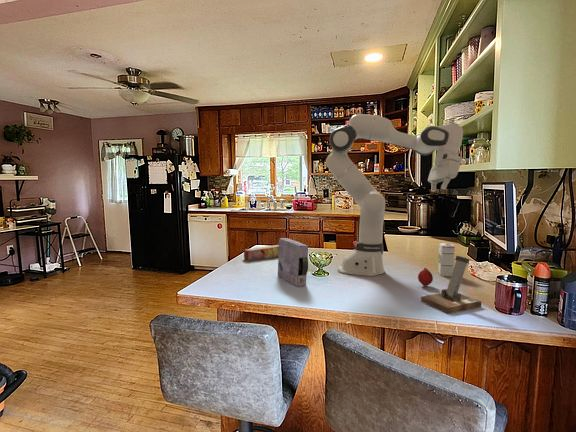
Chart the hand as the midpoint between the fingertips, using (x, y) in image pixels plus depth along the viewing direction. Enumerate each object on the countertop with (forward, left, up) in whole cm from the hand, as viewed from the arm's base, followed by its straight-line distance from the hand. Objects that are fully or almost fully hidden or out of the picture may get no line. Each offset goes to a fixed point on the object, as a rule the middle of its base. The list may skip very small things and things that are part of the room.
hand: (438, 190), depth 149 cm
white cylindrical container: (+7, +7, -40) cm, 41 cm away
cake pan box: (-63, -15, -40) cm, 76 cm away
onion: (-7, -13, -40) cm, 43 cm away
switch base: (-3, -33, -40) cm, 52 cm away
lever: (-3, -33, -37) cm, 49 cm away
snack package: (-85, +24, -40) cm, 97 cm away
